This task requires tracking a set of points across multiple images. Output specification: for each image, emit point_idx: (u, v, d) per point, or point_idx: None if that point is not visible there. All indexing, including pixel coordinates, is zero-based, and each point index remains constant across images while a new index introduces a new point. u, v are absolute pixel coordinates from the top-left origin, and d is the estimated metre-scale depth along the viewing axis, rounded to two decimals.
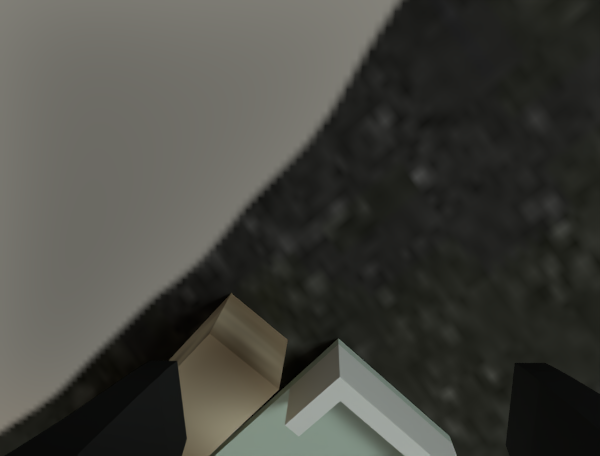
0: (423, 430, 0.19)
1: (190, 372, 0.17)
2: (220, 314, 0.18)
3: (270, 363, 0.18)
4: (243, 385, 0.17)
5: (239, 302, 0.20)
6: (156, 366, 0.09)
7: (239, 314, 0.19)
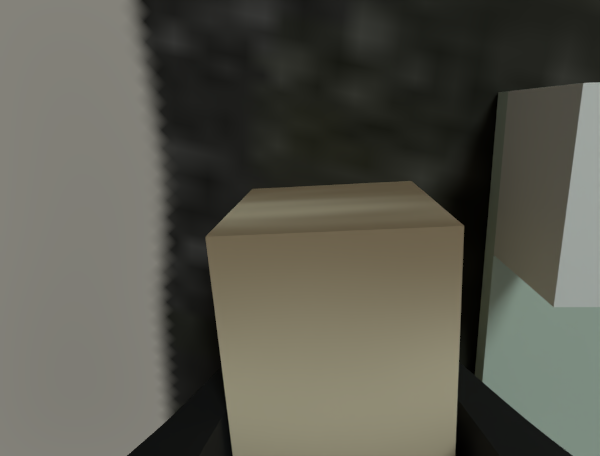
0: None
1: (253, 354, 0.06)
2: (233, 211, 0.08)
3: (402, 209, 0.07)
4: (380, 288, 0.06)
5: (275, 189, 0.09)
6: None
7: (282, 196, 0.08)
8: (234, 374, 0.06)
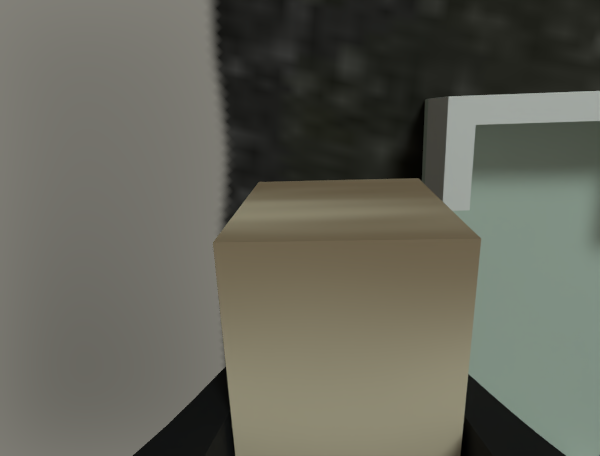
0: None
1: (259, 361, 0.06)
2: (239, 211, 0.07)
3: (414, 215, 0.07)
4: (391, 299, 0.06)
5: (281, 185, 0.09)
6: None
7: (289, 195, 0.08)
8: (239, 380, 0.06)
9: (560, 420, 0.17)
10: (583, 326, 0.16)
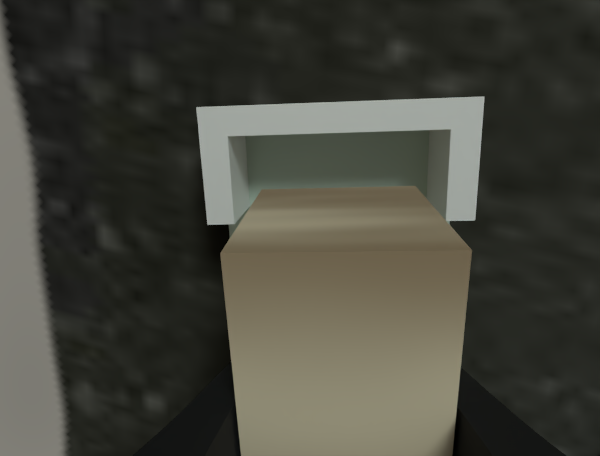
0: None
1: (263, 363, 0.07)
2: (243, 220, 0.08)
3: (410, 226, 0.07)
4: (387, 306, 0.06)
5: (283, 193, 0.09)
6: None
7: (291, 203, 0.09)
8: (244, 381, 0.07)
9: None
10: None
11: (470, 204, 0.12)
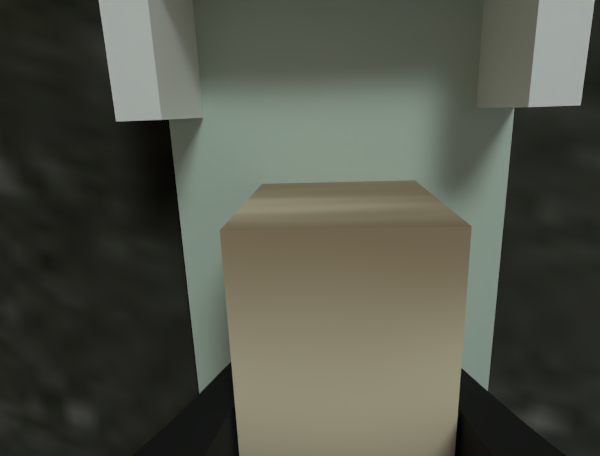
0: None
1: (262, 346, 0.07)
2: (243, 206, 0.08)
3: (410, 208, 0.07)
4: (387, 285, 0.06)
5: (283, 186, 0.09)
6: None
7: (290, 193, 0.09)
8: (243, 365, 0.07)
9: None
10: None
11: (573, 75, 0.07)
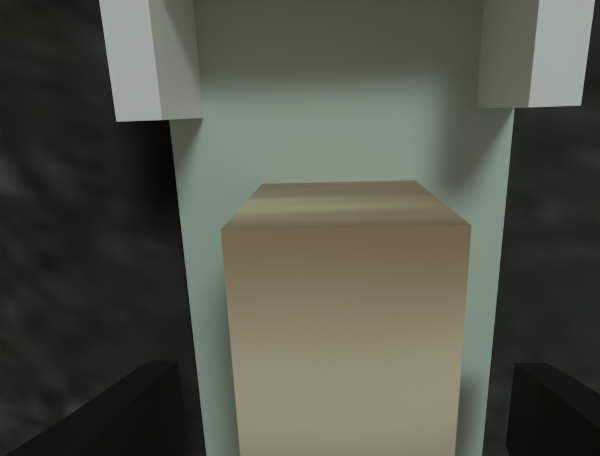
0: None
1: (262, 345, 0.07)
2: (244, 206, 0.08)
3: (410, 208, 0.07)
4: (388, 284, 0.06)
5: (284, 186, 0.10)
6: (156, 366, 0.09)
7: (291, 193, 0.09)
8: (243, 364, 0.07)
9: None
10: None
11: (574, 75, 0.07)
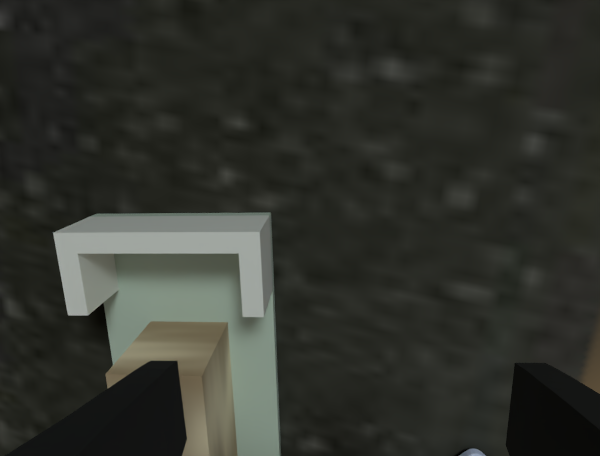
0: (206, 222, 0.17)
1: None
2: (127, 349, 0.17)
3: (193, 358, 0.16)
4: None
5: (158, 326, 0.19)
6: (156, 366, 0.09)
7: (156, 336, 0.18)
8: None
9: None
10: (246, 394, 0.20)
11: (259, 305, 0.16)
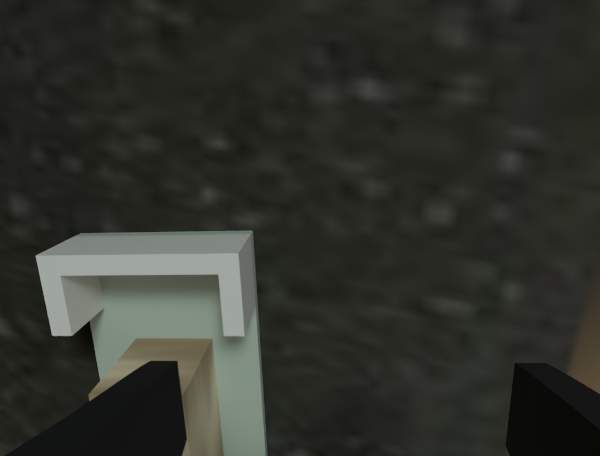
0: (187, 242, 0.17)
1: None
2: (111, 368, 0.17)
3: None
4: None
5: (144, 343, 0.19)
6: (157, 366, 0.09)
7: (140, 354, 0.18)
8: None
9: None
10: (232, 409, 0.20)
11: (240, 325, 0.16)
